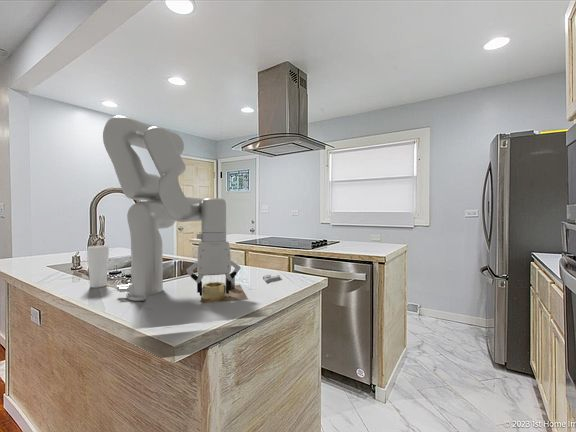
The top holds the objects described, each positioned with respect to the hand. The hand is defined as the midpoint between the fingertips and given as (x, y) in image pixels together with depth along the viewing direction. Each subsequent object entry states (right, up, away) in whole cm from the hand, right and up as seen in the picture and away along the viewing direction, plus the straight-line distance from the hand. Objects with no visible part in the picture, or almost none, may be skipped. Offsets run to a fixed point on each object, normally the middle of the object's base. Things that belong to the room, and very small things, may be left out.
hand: (214, 293), depth 95 cm
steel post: (+3, -1, +10) cm, 11 cm away
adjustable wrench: (+12, -3, +23) cm, 26 cm away
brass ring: (0, -1, 0) cm, 1 cm away
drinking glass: (-48, -2, +18) cm, 51 cm away
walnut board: (+2, -3, +5) cm, 6 cm away
